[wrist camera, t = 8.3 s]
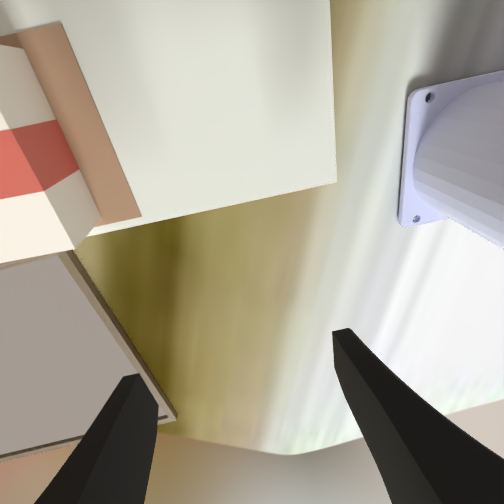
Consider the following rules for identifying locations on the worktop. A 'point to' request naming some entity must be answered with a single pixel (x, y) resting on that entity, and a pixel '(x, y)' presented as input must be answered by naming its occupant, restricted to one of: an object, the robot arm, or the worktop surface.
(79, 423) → the picture frame
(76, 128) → the mat
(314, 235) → the worktop surface
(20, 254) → the card box
